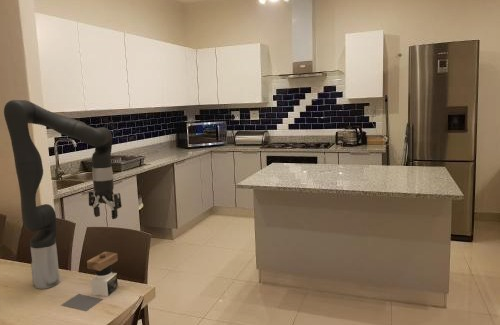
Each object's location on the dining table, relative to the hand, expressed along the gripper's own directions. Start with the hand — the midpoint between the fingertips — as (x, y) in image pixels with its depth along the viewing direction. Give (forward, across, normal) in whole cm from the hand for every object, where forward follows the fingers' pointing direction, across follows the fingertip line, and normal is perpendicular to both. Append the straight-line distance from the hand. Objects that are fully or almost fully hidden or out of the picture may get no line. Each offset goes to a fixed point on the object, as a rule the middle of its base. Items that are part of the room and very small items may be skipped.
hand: (106, 217), depth 161 cm
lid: (+16, +4, -8) cm, 19 cm away
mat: (+28, +2, -18) cm, 33 cm away
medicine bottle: (+28, +4, -8) cm, 30 cm away
